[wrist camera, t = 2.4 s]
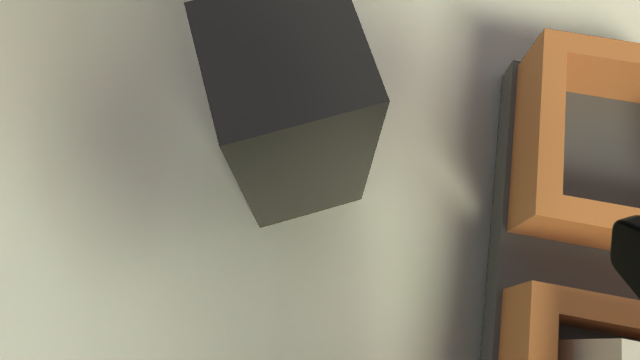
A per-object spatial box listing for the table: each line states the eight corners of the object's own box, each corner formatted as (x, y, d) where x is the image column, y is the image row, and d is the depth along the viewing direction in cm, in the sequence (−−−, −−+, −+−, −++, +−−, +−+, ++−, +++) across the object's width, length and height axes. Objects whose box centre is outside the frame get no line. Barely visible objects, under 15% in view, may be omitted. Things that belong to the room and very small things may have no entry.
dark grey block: (361, 199, 24) (389, 101, 14) (260, 227, 23) (219, 146, 14) (331, 109, 25) (338, -35, 16) (235, 134, 25) (183, 2, 15)
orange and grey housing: (703, 594, 19) (917, 733, 12) (465, 542, 19) (544, 648, 12) (678, 104, 25) (807, 19, 19) (502, 76, 26) (566, -18, 19)
